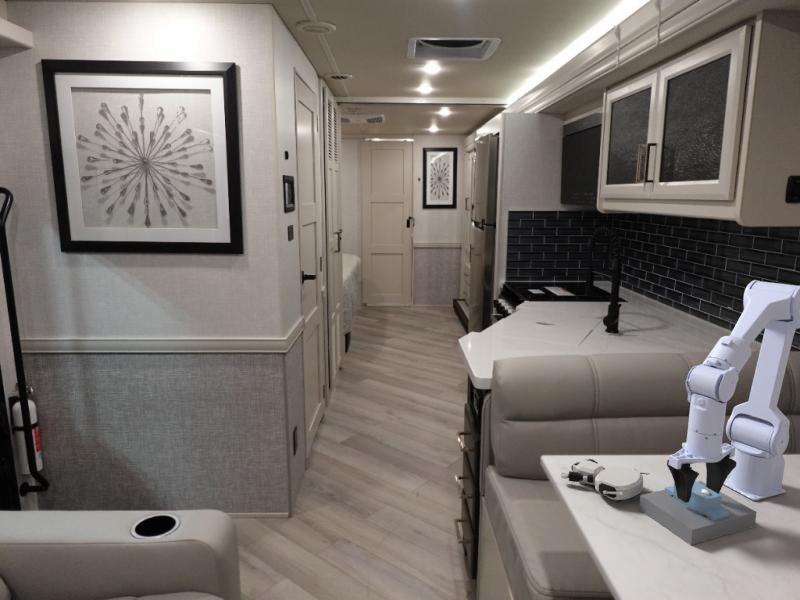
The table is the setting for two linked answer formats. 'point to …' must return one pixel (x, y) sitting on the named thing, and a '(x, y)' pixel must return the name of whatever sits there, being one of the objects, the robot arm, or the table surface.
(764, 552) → the table surface
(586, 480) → the robot toy
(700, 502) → the block
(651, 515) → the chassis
